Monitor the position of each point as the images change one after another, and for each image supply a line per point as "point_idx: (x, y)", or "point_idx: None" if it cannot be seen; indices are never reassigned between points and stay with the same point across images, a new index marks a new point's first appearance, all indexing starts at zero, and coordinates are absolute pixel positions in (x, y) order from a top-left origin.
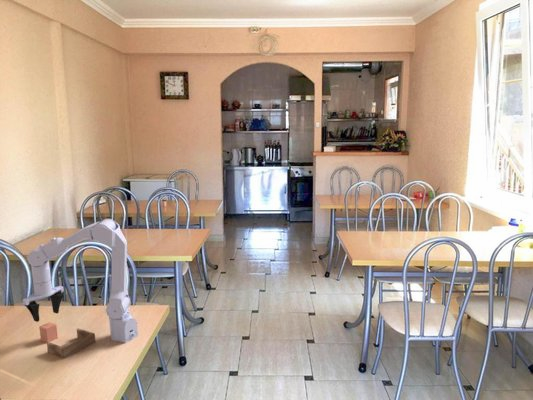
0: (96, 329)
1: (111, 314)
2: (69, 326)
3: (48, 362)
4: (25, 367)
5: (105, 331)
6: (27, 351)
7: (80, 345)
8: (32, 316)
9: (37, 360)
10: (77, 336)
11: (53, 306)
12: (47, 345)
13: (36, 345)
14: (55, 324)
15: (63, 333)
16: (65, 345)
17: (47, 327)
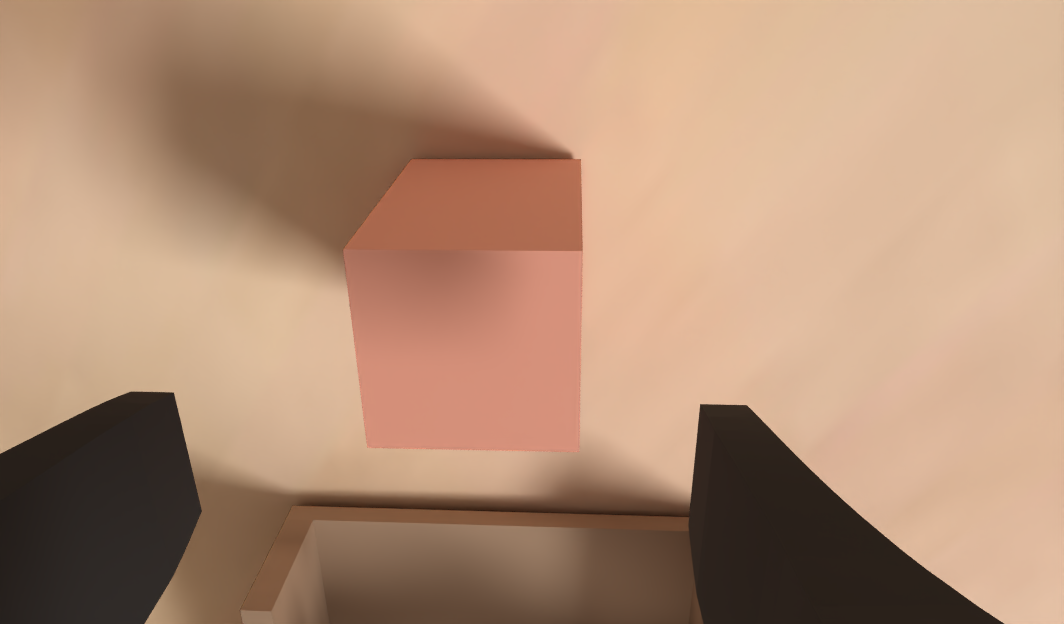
0: (1024, 496)
1: None
2: (1017, 56)
3: (219, 616)
4: None
5: (1000, 615)
6: (168, 223)
7: None
8: (26, 449)
9: None
10: None
11: (745, 541)
12: (253, 592)
13: (325, 176)
14: (571, 439)
15: (767, 197)
16: (494, 556)
17: (413, 419)
